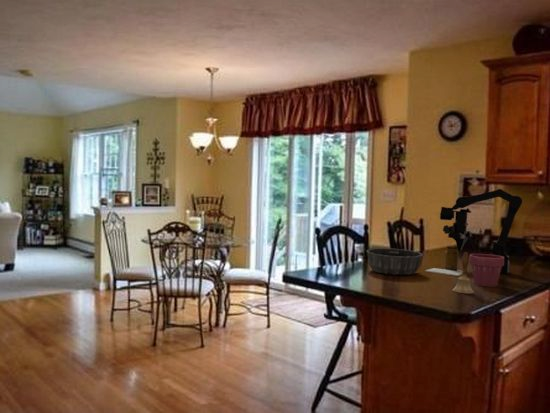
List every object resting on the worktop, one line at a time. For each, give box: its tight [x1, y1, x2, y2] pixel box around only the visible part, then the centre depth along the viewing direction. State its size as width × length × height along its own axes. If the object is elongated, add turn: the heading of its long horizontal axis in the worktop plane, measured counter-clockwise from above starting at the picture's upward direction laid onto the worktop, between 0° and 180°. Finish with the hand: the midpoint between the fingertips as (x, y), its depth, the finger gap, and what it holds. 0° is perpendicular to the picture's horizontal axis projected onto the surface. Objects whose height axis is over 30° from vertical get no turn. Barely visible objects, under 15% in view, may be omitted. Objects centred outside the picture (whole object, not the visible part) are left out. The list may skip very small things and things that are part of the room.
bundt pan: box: [366, 247, 423, 276], centre depth 253 cm, size 26×26×10 cm
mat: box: [424, 267, 463, 277], centre depth 258 cm, size 16×11×1 cm
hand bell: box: [452, 251, 475, 295], centre depth 213 cm, size 8×8×16 cm
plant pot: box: [468, 253, 504, 288], centre depth 230 cm, size 14×14×13 cm
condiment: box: [444, 245, 463, 272], centre depth 266 cm, size 7×8×12 cm
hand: (459, 251), depth 273 cm, fingers closed
